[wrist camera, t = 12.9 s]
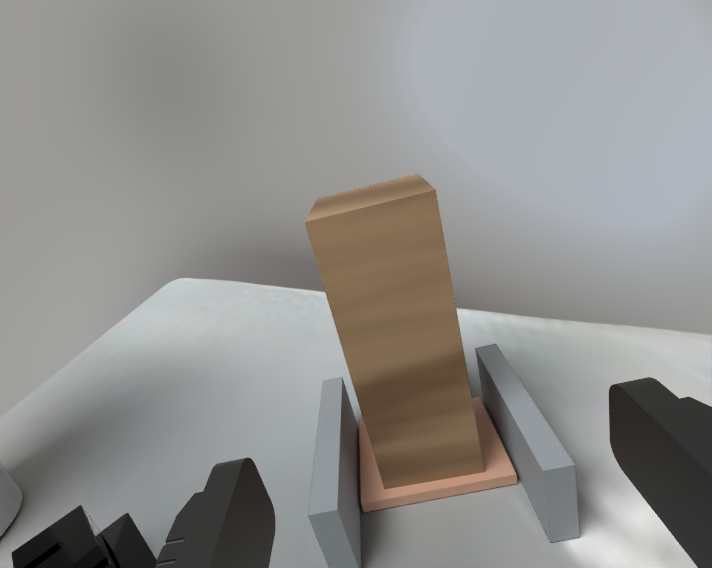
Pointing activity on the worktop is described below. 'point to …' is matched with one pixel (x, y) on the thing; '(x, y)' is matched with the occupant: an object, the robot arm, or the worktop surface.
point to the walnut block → (398, 327)
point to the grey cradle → (521, 439)
